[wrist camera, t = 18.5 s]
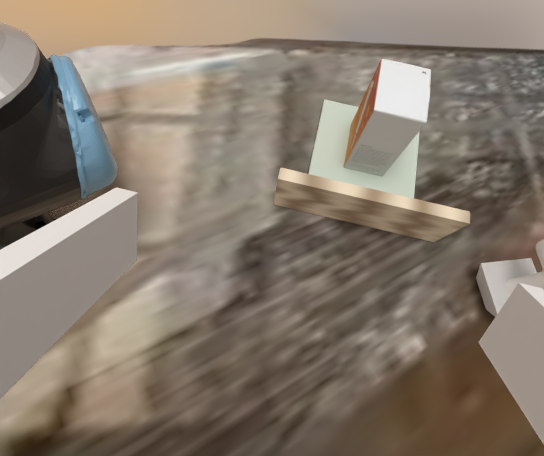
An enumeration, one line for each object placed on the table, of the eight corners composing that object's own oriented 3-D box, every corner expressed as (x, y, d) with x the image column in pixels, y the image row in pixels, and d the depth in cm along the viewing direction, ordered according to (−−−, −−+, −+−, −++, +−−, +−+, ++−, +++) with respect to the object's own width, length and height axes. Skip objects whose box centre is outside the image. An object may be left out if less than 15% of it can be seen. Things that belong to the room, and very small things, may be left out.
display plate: (304, 188, 47) (306, 184, 46) (322, 104, 53) (324, 99, 52) (409, 212, 47) (412, 209, 46) (416, 126, 52) (420, 121, 51)
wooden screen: (273, 204, 46) (277, 178, 39) (275, 194, 47) (280, 167, 39) (433, 242, 46) (469, 223, 38) (434, 232, 46) (469, 211, 39)
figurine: (481, 330, 42) (598, 326, 28) (460, 261, 45) (556, 226, 31) (531, 324, 43) (669, 317, 29) (507, 256, 46) (621, 220, 32)
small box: (349, 125, 50) (381, 56, 38) (388, 134, 50) (433, 68, 38) (341, 168, 47) (373, 109, 35) (383, 178, 47) (429, 122, 35)
